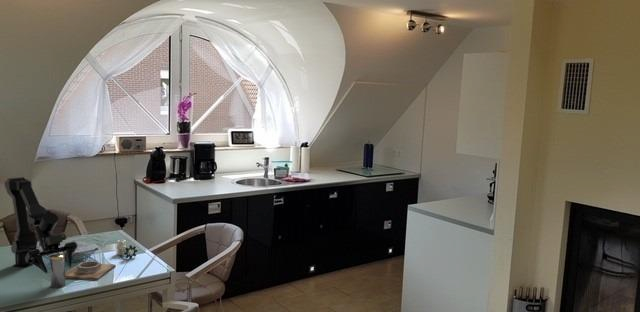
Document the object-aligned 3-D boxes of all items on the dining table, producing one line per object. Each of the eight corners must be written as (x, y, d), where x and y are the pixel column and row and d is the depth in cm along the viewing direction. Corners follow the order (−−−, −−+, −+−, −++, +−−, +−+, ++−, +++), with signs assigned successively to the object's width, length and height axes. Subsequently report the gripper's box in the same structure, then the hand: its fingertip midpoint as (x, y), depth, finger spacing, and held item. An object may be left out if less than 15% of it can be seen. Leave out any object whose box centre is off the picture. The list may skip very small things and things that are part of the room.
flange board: (61, 277, 213) (60, 269, 212) (81, 264, 228) (81, 257, 228) (97, 280, 212) (97, 272, 211) (115, 266, 227) (115, 259, 227)
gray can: (48, 287, 202) (47, 257, 200) (55, 282, 207) (54, 253, 205) (60, 288, 202) (59, 258, 200) (67, 283, 207) (67, 254, 205)
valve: (112, 254, 244) (124, 260, 236) (112, 241, 243) (124, 247, 235) (125, 251, 249) (137, 257, 241) (125, 238, 248) (137, 244, 240)
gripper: (26, 231, 197) (39, 265, 191) (74, 222, 211) (88, 254, 206) (19, 246, 203) (31, 279, 197) (66, 236, 217) (79, 267, 212)
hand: (58, 269), depth 203 cm, fingers open, 9 cm apart
